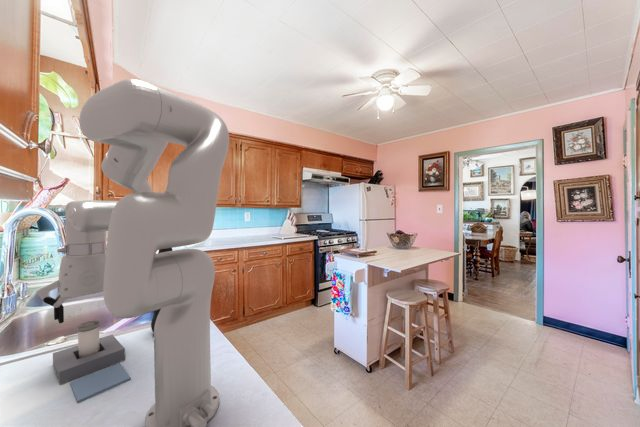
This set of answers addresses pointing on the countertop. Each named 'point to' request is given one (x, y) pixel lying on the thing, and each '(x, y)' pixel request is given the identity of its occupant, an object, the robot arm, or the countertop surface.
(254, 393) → the countertop surface
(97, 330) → the plug
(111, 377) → the mat
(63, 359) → the socket block
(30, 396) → the countertop surface
